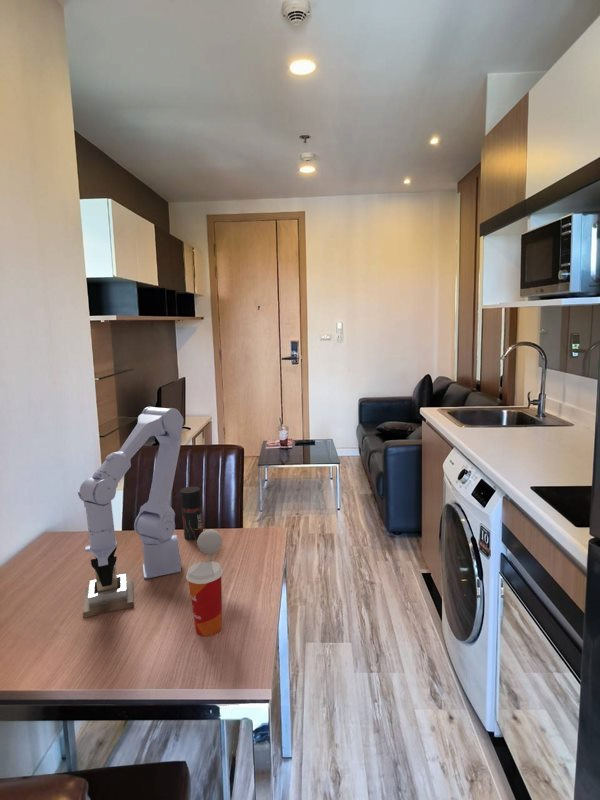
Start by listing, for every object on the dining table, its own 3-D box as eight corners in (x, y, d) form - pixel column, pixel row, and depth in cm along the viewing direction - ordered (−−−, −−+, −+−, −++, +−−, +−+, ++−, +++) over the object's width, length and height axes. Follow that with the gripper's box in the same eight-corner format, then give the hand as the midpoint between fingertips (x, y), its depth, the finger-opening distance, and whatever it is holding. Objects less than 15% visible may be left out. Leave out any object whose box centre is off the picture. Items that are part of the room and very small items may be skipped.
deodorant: (199, 540, 154) (195, 493, 151) (181, 539, 155) (177, 492, 153) (206, 532, 160) (203, 486, 157) (189, 531, 161) (185, 486, 158)
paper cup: (195, 618, 113) (190, 560, 111) (229, 617, 113) (225, 559, 111) (186, 640, 106) (181, 578, 103) (223, 639, 105) (218, 577, 103)
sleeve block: (117, 581, 125) (115, 559, 124) (117, 590, 121) (115, 567, 120) (98, 585, 124) (95, 562, 123) (97, 594, 120) (95, 570, 119)
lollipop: (213, 595, 122) (209, 537, 120) (195, 589, 126) (191, 532, 123) (230, 584, 128) (226, 527, 125) (212, 578, 131) (208, 523, 128)
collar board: (132, 582, 131) (130, 569, 130) (133, 606, 119) (132, 592, 119) (86, 591, 127) (84, 578, 126) (83, 617, 116) (81, 602, 115)
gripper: (84, 519, 126) (90, 570, 128) (81, 542, 112) (87, 599, 114) (114, 514, 128) (120, 564, 130) (114, 536, 114) (120, 592, 117)
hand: (107, 580), depth 122 cm, fingers closed on sleeve block, 4 cm apart
